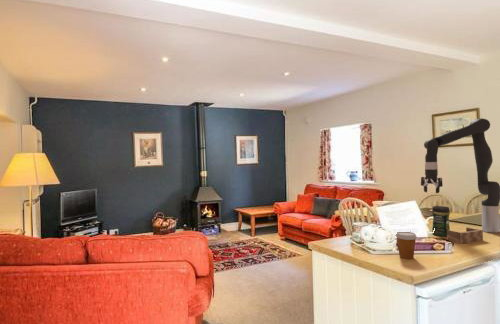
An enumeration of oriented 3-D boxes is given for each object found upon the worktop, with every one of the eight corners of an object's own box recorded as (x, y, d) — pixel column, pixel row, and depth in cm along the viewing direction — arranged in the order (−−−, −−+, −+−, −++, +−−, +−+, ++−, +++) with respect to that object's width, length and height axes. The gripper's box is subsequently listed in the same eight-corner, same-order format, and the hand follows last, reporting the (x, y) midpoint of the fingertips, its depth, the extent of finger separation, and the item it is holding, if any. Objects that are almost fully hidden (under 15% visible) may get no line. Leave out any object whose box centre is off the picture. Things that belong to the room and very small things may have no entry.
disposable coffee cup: (416, 261, 155) (415, 236, 155) (394, 258, 160) (394, 234, 160) (417, 256, 164) (417, 232, 163) (397, 253, 169) (397, 230, 169)
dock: (468, 237, 199) (467, 227, 199) (482, 240, 191) (482, 230, 191) (447, 240, 193) (446, 230, 193) (461, 243, 184) (461, 233, 184)
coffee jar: (430, 234, 208) (429, 205, 208) (436, 232, 212) (436, 204, 212) (446, 237, 200) (445, 207, 200) (452, 235, 204) (451, 206, 204)
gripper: (445, 168, 213) (445, 193, 214) (425, 168, 226) (425, 191, 227) (437, 169, 210) (437, 193, 210) (418, 168, 223) (418, 192, 224)
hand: (431, 192), depth 219 cm, fingers open, 8 cm apart
